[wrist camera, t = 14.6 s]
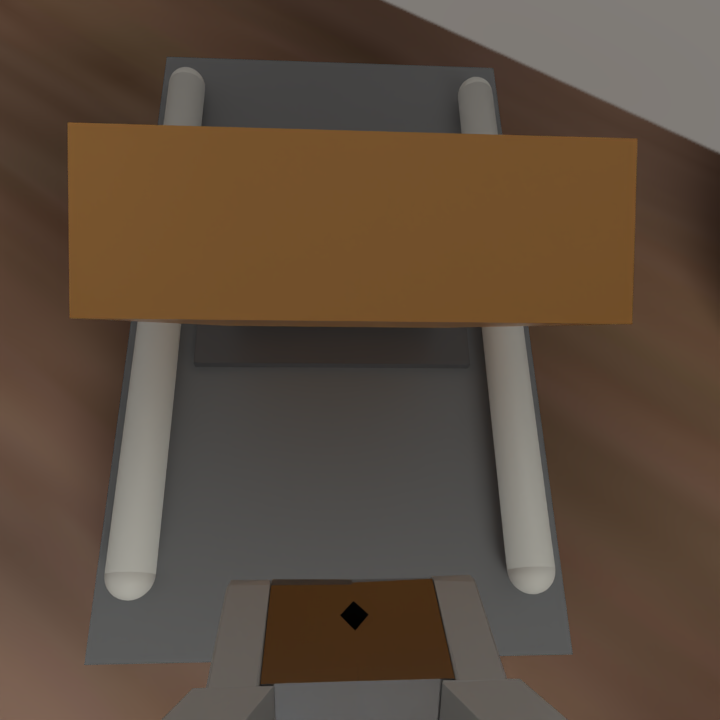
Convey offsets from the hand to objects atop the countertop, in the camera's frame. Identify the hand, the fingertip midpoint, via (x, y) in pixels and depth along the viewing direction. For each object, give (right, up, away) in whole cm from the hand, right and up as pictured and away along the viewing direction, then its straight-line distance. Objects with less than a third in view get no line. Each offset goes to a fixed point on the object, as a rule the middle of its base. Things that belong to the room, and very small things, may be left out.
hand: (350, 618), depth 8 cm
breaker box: (-1, +3, +17) cm, 18 cm away
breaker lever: (-1, +5, +11) cm, 13 cm away
